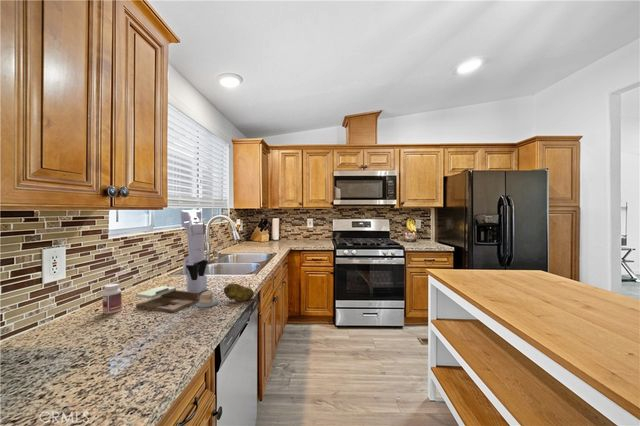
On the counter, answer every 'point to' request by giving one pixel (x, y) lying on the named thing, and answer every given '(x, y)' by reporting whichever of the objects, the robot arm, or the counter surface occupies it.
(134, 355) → the counter surface
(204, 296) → the block
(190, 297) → the board
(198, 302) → the saucer
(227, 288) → the potato
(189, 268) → the robot arm
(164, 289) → the cover
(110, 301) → the pill bottle
